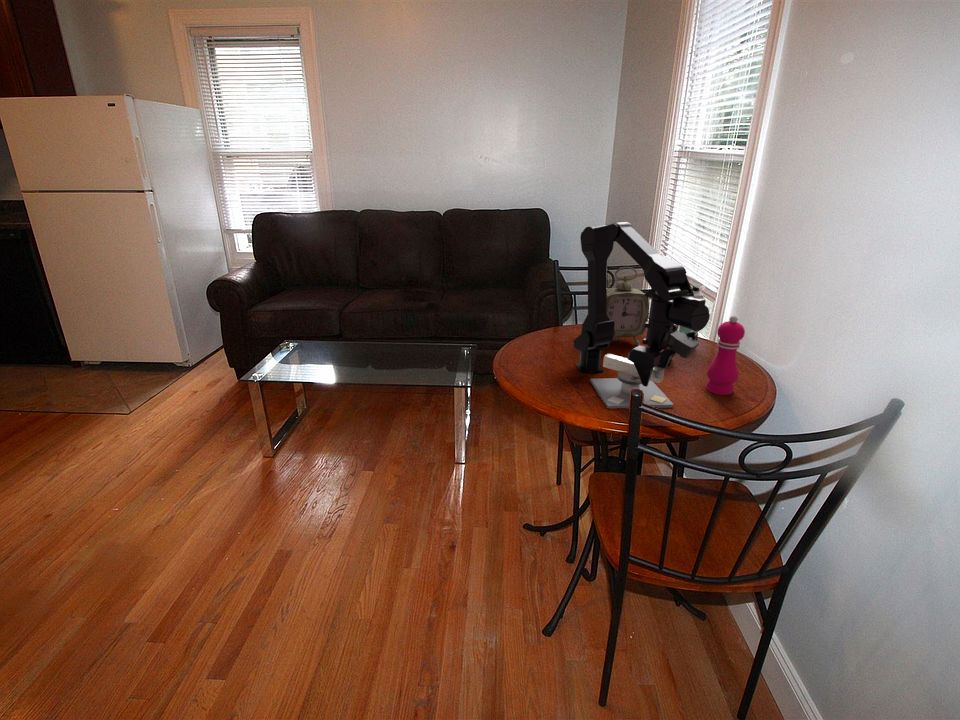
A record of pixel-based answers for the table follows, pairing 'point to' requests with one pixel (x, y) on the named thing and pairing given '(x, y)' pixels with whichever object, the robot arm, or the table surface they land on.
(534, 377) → the table surface
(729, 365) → the pepper mill
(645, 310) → the tabletop clock
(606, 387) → the base
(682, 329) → the spray can
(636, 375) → the handle
